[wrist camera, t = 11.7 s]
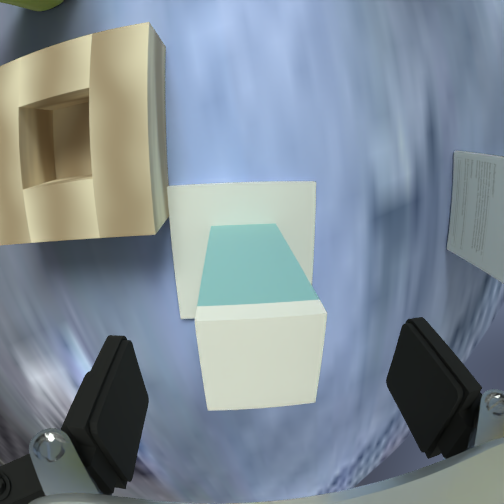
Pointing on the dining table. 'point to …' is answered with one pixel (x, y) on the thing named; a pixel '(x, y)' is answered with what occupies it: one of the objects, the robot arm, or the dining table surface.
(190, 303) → the mat
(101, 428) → the robot arm
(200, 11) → the dining table surface
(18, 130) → the socket block
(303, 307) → the plug
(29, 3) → the plant pot
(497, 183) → the supplement box
